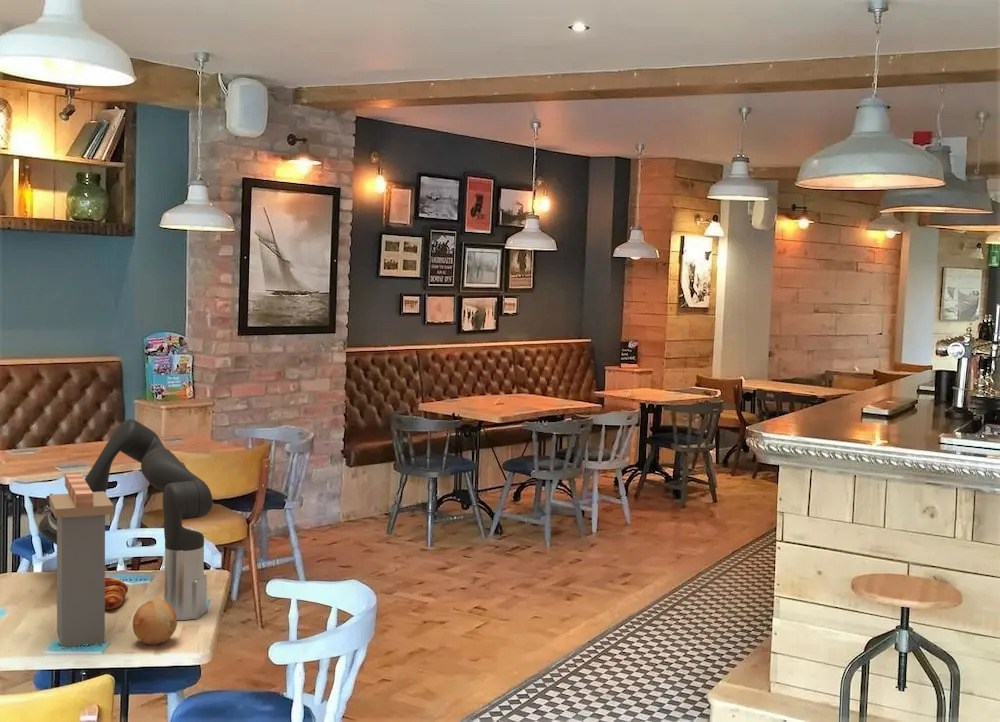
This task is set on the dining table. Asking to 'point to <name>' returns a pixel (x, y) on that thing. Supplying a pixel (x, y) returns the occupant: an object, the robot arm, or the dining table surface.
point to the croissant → (114, 592)
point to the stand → (80, 569)
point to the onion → (154, 622)
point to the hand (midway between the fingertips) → (70, 496)
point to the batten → (78, 490)
